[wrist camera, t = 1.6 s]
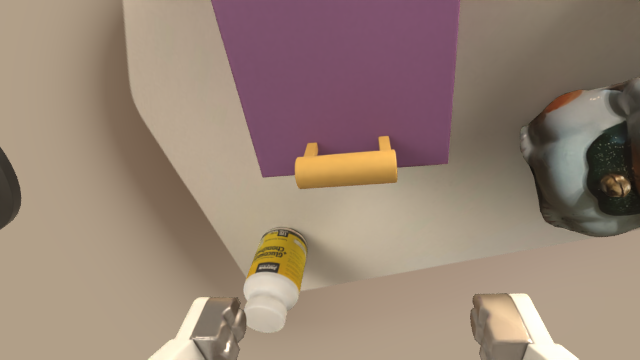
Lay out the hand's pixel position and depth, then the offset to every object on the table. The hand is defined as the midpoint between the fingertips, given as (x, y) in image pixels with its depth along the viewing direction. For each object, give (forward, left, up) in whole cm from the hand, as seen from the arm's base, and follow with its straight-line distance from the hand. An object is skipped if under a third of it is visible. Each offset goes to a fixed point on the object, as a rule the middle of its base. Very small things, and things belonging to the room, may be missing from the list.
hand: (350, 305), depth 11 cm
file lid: (-1, +7, -14) cm, 16 cm away
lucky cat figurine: (+22, -7, -24) cm, 34 cm away
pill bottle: (-12, -20, -24) cm, 33 cm away
